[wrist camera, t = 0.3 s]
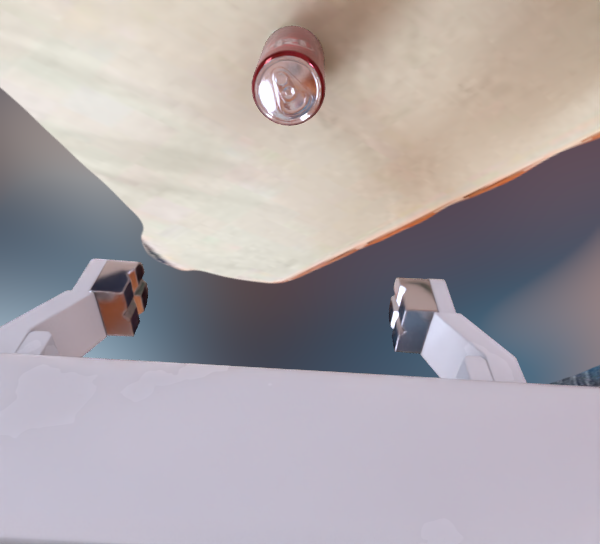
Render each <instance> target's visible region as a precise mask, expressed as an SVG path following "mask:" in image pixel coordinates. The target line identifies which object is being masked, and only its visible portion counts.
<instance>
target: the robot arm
mask: <svg viewBox="0 0 600 544" xmlns="http://www.w3.org/2000/svg"><path fill="white" fill-rule="evenodd" d="M143 274H144V268H143V264H141V262H133V261H132V262H131V261H121V260H105V259H92V260H91V261H90V262H89V264H88V265H87V267H86V268H85V270H84V272H83V273H82V275H81V277H80V278H79V280H78V281H77V283H76V284H75V286H74V288H73V289H72V291H65V292H63V293H61V294H60V295H58V296H56V297H54V298H52V299H50V300H49V301H47V302H45V303H43V304H41V305H39V306H38V307H36V308H34V309H32V310H30V311H28V312H27V313H25V314H23V315H21V316H19V317H17V318H16V319H14V320H12V321H10V322H8V323H6V324H5V325H3V326H1V327H0V544H600V387H588V386H570V385H552V384H535V383H526V380H525V378H524V376H523V373H522V371H521V369H520V367H519V364H518V362H517V359H516V357H514V356H513V355H512V354H510V353H509V352H508V351H507V350H505V349H504V348H503V347H502V346H500V345H499V344H498V343H497V342H495V341H494V340H493V339H492V338H490V337H489V336H488V335H487V334H485V333H484V332H483V331H482V330H480V329H479V328H478V327H476V326H475V325H474V324H473V323H471V322H470V321H469V320H468V319H467V318H465V317H464V316H463V315H462V314H457V313H456V311H455V308H454V305H453V302H452V299H451V296H450V294H449V291H448V288H447V285H446V282H445V281H444V280H443V279H412V278H396V281H395V284H394V292H395V295H394V296H393V297H392V298H391V301H390V307H389V321H390V326H391V327H392V328H393V329H394V330H393V334H392V339H393V345H394V350H395V352H406V353H419V354H421V356H422V357H423V358H424V359H425V360H426V362H427V363H428V364H429V365H430V366H431V367H432V369H433V370H434V371H435V372H436V373H437V374H438V376H439V377H440V378H430V377H414V376H396V375H378V374H361V373H344V372H327V371H326V372H325V371H309V370H292V369H274V368H254V367H239V366H221V365H203V364H188V363H187V364H186V363H169V362H153V361H136V360H119V359H100V358H84V357H83V356H84V355H85V354H86V353H88V352H89V351H90V350H91V349H92V348H94V347H95V346H96V345H97V344H98V343H100V341H102V340H103V339H105V338H106V337H107V336H106V335H109V336H110V335H111V336H134V334H135V331H136V329H137V327H138V324H139V322H140V320H139V314H141V313H142V312H144V310H145V307H146V305H147V298H148V288H147V283H146V282H145V281H144V280H143V279H142V277H143Z"/></svg>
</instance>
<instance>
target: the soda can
mask: <svg viewBox="0 0 600 544" xmlns="http://www.w3.org/2000/svg"><path fill="white" fill-rule="evenodd" d="M252 94H253V99H254V101H255V104H256V106H257V107H258V109H259V110H260V112H261V113H262V114H263V115H264V116H265V117H267V118H268V119H269V120H271V121H273V122H275V123H277V124H281V125H288V126H291V125H298V124H301V123H304V122H306V121H308V120H309V119H311V118H312V117H313V116H314V115H315V114H316V113H317V112H318V110H319V109H320V107H321V105H322V103H323V100H324V97H325V65H324V52H323V49H322V46H321V44H320V42H319V40H318V39H317V38H316V36H315V35H314V34H313V33H311V32H310V31H309V30H307V29H305V28H303V27H299V26H285V27H283V28H280V29H278V30H277V31H275V32H274V33H273V34H272V35H271V36H270V37H269V38H268V39H267V41H266V43H265V45H264V47H263V50H262V53H261V56H260V59H259V61H258V64H257V67H256V70H255V72H254V75H253V80H252Z"/></svg>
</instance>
